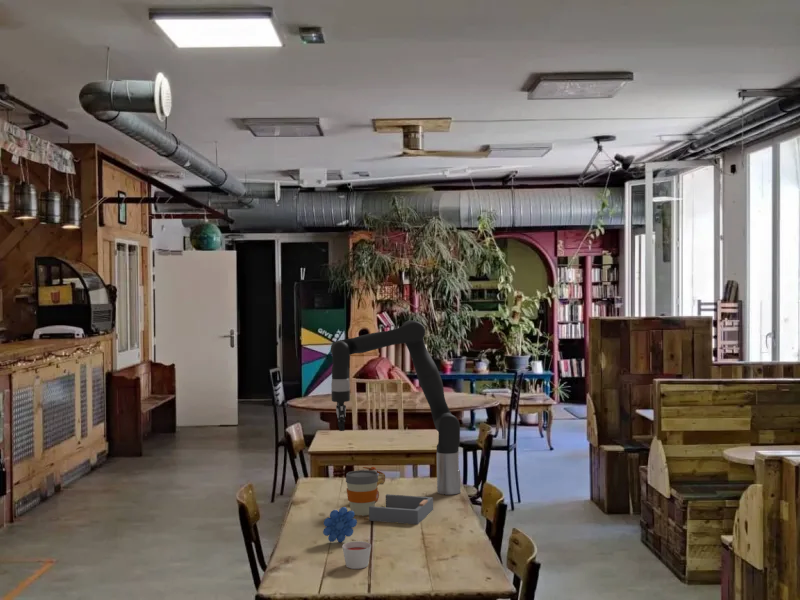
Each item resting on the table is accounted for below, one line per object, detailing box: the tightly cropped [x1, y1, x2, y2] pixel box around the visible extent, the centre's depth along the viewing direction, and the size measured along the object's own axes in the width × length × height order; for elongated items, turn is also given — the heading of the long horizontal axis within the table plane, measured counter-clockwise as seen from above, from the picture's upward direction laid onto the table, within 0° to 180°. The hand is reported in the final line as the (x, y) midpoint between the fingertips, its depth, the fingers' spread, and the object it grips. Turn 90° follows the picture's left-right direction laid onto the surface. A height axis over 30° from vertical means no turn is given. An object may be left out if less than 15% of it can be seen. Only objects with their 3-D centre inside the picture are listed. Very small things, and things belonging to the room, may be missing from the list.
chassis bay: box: [368, 493, 434, 525], centre depth 313 cm, size 19×20×6 cm
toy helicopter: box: [362, 466, 386, 503], centre depth 342 cm, size 8×21×14 cm, turn 160°
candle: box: [341, 540, 372, 570], centre depth 257 cm, size 9×9×6 cm
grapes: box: [322, 506, 358, 543], centre depth 282 cm, size 12×7×12 cm, turn 98°
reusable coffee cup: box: [345, 469, 379, 517], centre depth 318 cm, size 13×13×15 cm
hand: (341, 429), depth 338 cm, fingers open, 8 cm apart
